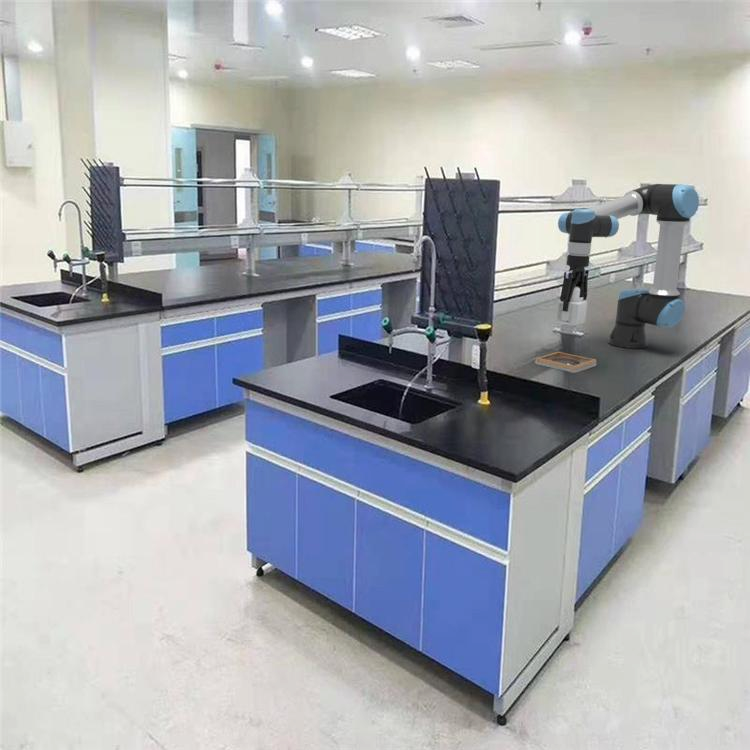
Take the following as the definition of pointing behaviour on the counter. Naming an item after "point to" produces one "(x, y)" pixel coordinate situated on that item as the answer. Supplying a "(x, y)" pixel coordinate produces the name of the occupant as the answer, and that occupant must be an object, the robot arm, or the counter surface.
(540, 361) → the wooden square frame
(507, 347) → the counter surface
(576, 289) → the container
